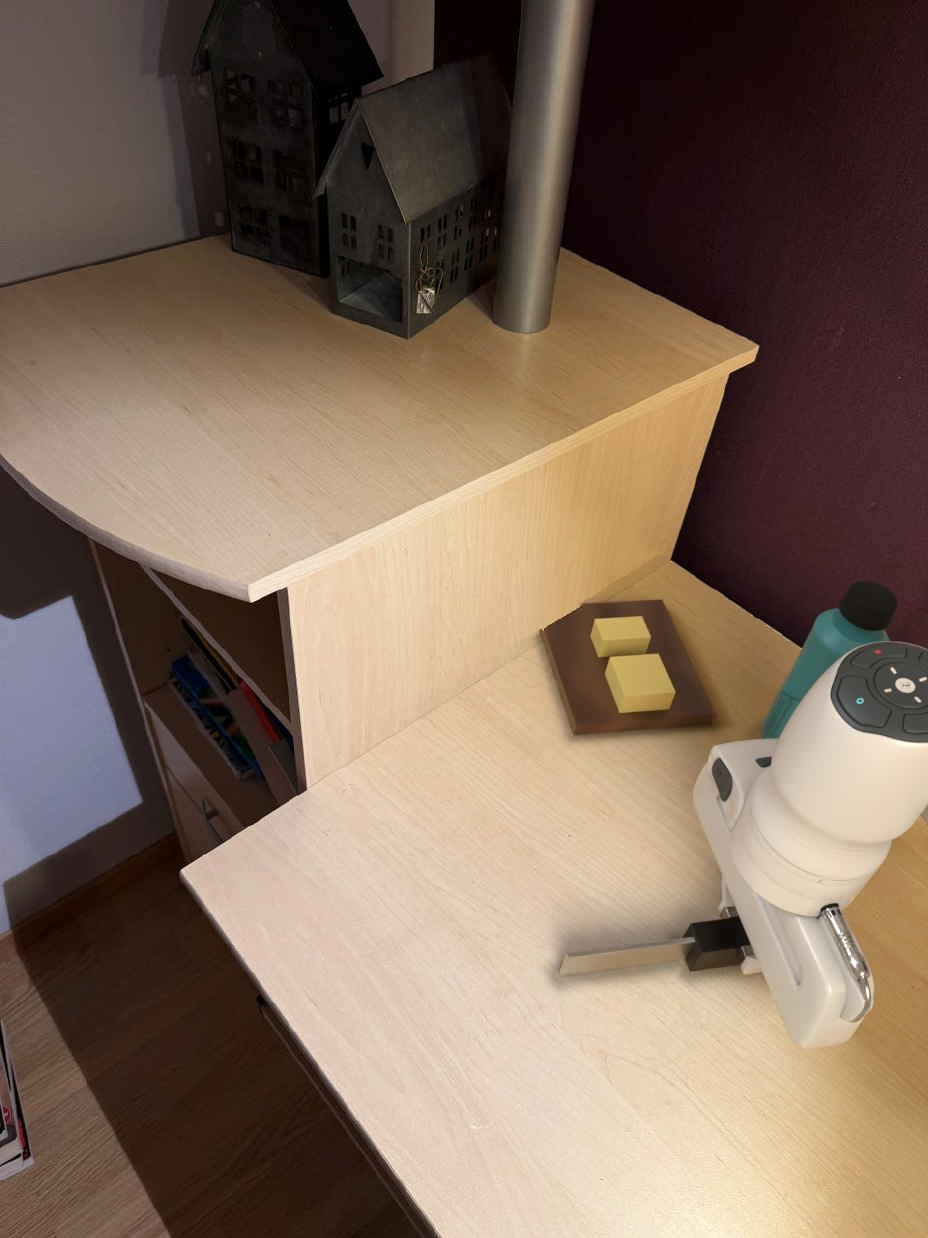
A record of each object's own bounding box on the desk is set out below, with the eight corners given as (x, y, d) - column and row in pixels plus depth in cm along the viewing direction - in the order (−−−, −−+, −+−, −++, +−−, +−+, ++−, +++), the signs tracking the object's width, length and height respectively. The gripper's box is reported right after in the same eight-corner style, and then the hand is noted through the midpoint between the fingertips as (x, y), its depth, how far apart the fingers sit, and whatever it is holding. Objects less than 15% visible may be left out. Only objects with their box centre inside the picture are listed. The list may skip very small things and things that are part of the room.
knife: (773, 930, 72) (786, 910, 70) (785, 959, 71) (800, 940, 68) (556, 958, 69) (563, 938, 67) (563, 989, 67) (571, 970, 65)
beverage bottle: (753, 767, 84) (835, 612, 70) (754, 715, 89) (831, 559, 75) (824, 785, 83) (921, 632, 69) (821, 731, 88) (911, 577, 74)
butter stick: (652, 670, 90) (658, 653, 88) (669, 709, 86) (676, 692, 84) (604, 674, 89) (609, 656, 87) (619, 713, 85) (625, 696, 83)
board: (658, 609, 98) (662, 599, 97) (712, 724, 87) (717, 714, 86) (534, 616, 96) (536, 605, 95) (573, 735, 85) (576, 725, 84)
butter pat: (636, 633, 93) (642, 615, 91) (645, 654, 91) (651, 637, 89) (590, 636, 92) (594, 618, 91) (598, 657, 90) (603, 640, 88)
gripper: (927, 991, 53) (838, 1076, 63) (782, 721, 68) (727, 824, 77) (830, 1006, 52) (754, 1090, 62) (703, 728, 66) (658, 831, 76)
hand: (738, 940), depth 70 cm, fingers closed on knife, 2 cm apart
